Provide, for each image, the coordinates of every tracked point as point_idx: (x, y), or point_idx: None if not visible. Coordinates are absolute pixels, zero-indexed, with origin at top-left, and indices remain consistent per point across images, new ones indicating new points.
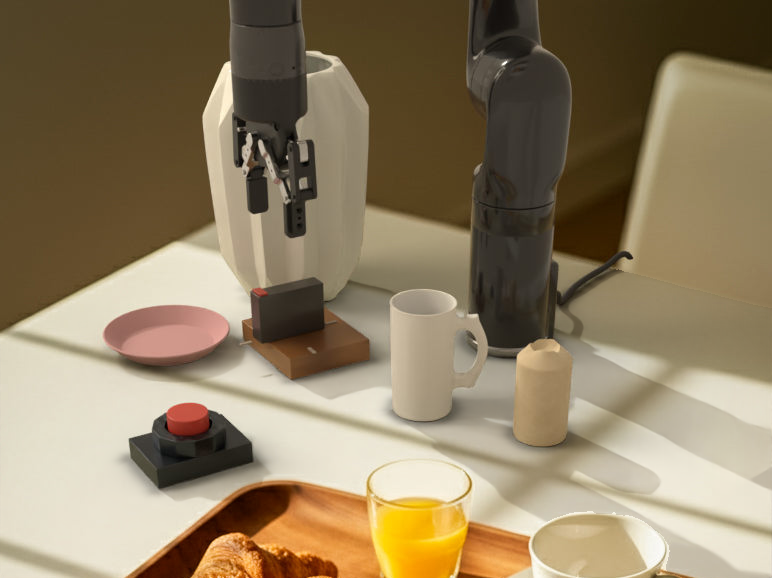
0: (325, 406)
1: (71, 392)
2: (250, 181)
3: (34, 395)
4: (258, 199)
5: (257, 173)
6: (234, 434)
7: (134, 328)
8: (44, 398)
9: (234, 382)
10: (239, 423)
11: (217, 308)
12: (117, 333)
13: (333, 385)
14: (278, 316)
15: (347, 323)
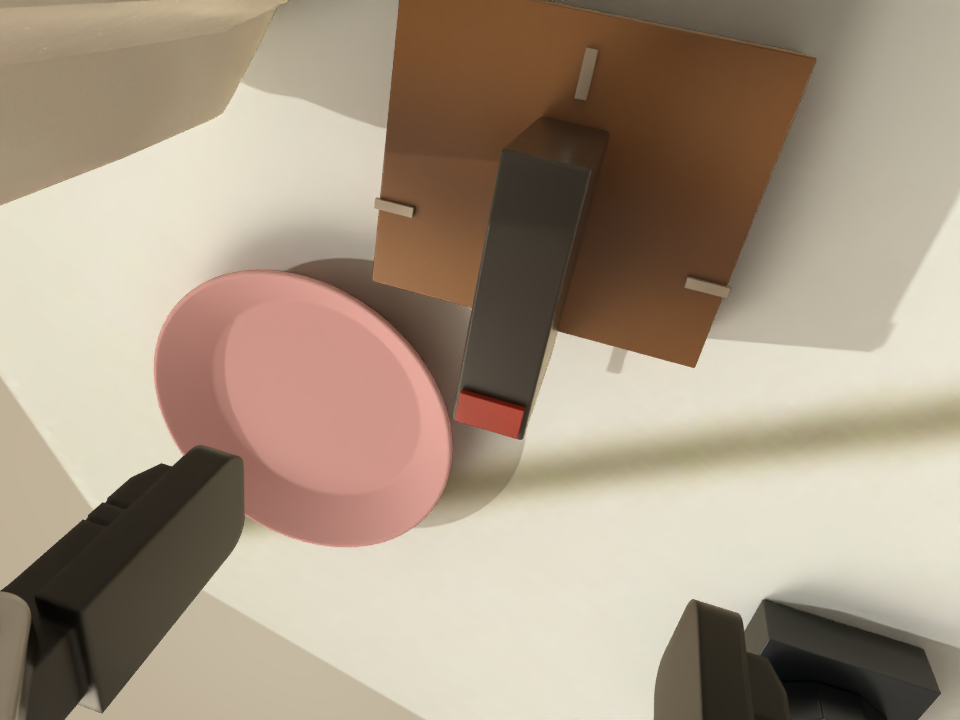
0: (895, 384)
1: (395, 623)
2: (102, 700)
3: (367, 655)
4: (193, 555)
5: (42, 696)
6: (873, 685)
7: (211, 410)
8: (387, 655)
9: (585, 432)
10: (760, 554)
11: (174, 168)
12: None
13: (823, 279)
14: (553, 335)
15: (636, 22)
